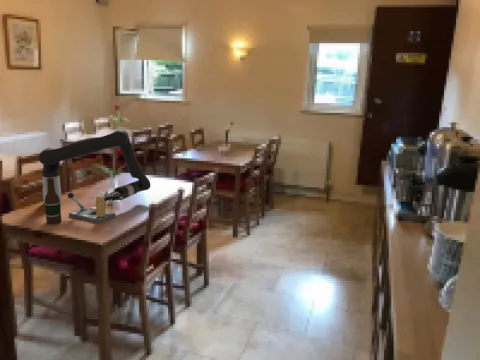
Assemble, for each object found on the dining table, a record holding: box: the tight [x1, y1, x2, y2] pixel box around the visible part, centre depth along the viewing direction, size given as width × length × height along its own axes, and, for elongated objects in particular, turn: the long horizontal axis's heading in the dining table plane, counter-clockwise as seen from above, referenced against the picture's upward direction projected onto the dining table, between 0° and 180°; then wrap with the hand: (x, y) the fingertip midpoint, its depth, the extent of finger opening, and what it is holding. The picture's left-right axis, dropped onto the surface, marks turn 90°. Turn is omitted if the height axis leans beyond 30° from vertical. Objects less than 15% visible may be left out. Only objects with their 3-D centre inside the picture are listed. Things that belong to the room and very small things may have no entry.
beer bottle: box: [44, 178, 62, 225], centre depth 211 cm, size 8×8×24 cm
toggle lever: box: [67, 192, 85, 209], centre depth 223 cm, size 3×3×14 cm
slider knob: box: [95, 195, 106, 217], centre depth 218 cm, size 4×4×11 cm
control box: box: [68, 206, 116, 224], centre depth 224 cm, size 22×12×2 cm, turn 66°
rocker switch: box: [88, 206, 96, 212], centre depth 226 cm, size 4×4×2 cm
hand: (102, 199), depth 219 cm, fingers closed
